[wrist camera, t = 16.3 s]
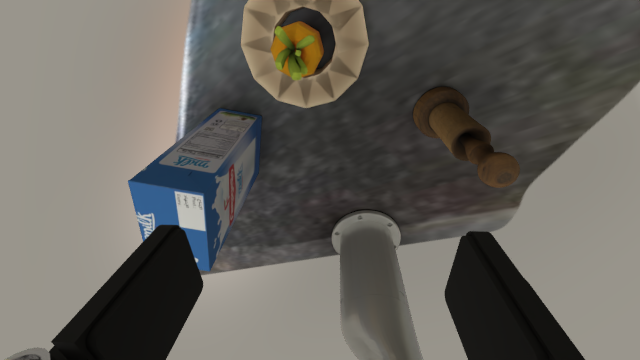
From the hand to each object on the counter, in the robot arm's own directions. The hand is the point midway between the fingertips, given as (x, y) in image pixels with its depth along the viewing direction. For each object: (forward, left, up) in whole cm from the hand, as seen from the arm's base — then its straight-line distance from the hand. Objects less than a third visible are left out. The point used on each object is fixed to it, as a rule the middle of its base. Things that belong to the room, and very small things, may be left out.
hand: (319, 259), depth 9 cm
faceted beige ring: (+5, +2, -31) cm, 32 cm away
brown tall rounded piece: (-8, -13, -31) cm, 35 cm away
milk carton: (-6, +16, -31) cm, 36 cm away
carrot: (+5, +2, -31) cm, 32 cm away
